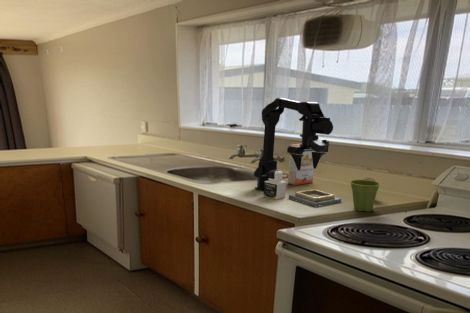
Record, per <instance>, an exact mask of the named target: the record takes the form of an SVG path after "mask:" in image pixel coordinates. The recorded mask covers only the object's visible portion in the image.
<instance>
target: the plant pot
mask: <svg viewBox="0 0 470 313" xmlns="http://www.w3.org/2000/svg"><path fill="white" fill-rule="evenodd" d="M375 181H376V180H375ZM375 181H370V180H362V179H352V180H350V181H349V183H350V187H351V193H352V201H353V208H354V209H353V210H356V211H359V212H363V211H365V212H367V213H368V212H371V211H373V209H374V205H375V202H376V197H377V194H378V191H379V188H380V186H381V185H382V184H381V183H380V181H379V182H378V181H376V182H375Z"/></svg>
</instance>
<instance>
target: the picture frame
mask: <svg viewBox="0 0 470 313" xmlns="http://www.w3.org/2000/svg"><path fill="white" fill-rule="evenodd" d="M289 198H290V200H292V199H293V200H292V201H295V200H297V201H296V202H298V201H300V202H299V203H301V202H304V203H303V204H305V203H307V204H306V205H308V204H310V205H309V206H311V205H313V206H312V207H314V206H318V207H320V206H319V205H324V206H327V205H326V204H329V205H333V203H334V204H337V203H338V204H339V203H342V198H340V197H336V195H335V194H334V193H333V194H332V193H329V192H325V191H322V190H318V189H315V188H314V189H307V190H301V191H296V192H295V193H294V194H289V195H288V199H289Z"/></svg>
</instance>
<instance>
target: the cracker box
mask: <svg viewBox="0 0 470 313" xmlns="http://www.w3.org/2000/svg"><path fill="white" fill-rule="evenodd" d="M299 144H300V143H290V145H289V146H299ZM303 155H304V156H303V157H302V159H301V168H300V170H298V169H297V167H296V164H295V162H294V160H293V158H292V156H291V155H290V154H289V161H288V162H289V164H288V174H287V175H288V176H287V184H290V185H293V186H298V185H306V184H310V183H311V184H312V183H313V180H314V168H313V161H312V151H304V152H303Z"/></svg>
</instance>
